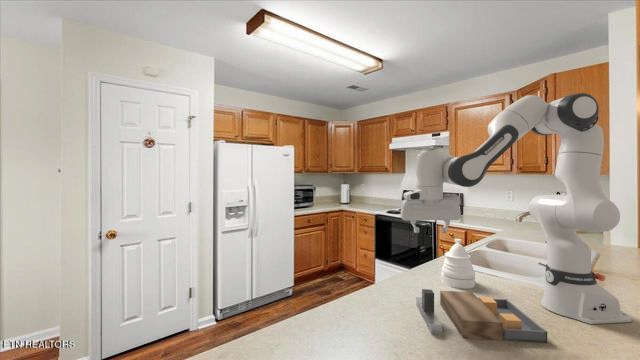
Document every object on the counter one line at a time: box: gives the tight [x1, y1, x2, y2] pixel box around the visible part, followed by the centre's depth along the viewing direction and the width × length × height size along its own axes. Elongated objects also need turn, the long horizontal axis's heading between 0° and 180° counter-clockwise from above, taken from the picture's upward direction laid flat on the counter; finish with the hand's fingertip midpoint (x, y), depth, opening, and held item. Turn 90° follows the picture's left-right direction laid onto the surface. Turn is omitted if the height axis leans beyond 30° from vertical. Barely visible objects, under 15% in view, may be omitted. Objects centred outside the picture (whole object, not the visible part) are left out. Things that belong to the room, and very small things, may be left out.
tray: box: [492, 298, 548, 344], centre depth 86 cm, size 12×20×3 cm, turn 174°
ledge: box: [439, 290, 504, 341], centre depth 88 cm, size 10×20×5 cm, turn 174°
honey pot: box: [441, 238, 476, 290], centre depth 118 cm, size 13×13×18 cm
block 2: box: [499, 313, 522, 330], centre depth 81 cm, size 4×4×4 cm
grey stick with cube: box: [415, 288, 443, 336], centre depth 89 cm, size 3×18×9 cm, turn 174°
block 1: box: [477, 296, 497, 315], centre depth 92 cm, size 4×4×4 cm
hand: (430, 232), depth 99 cm, fingers open, 8 cm apart
